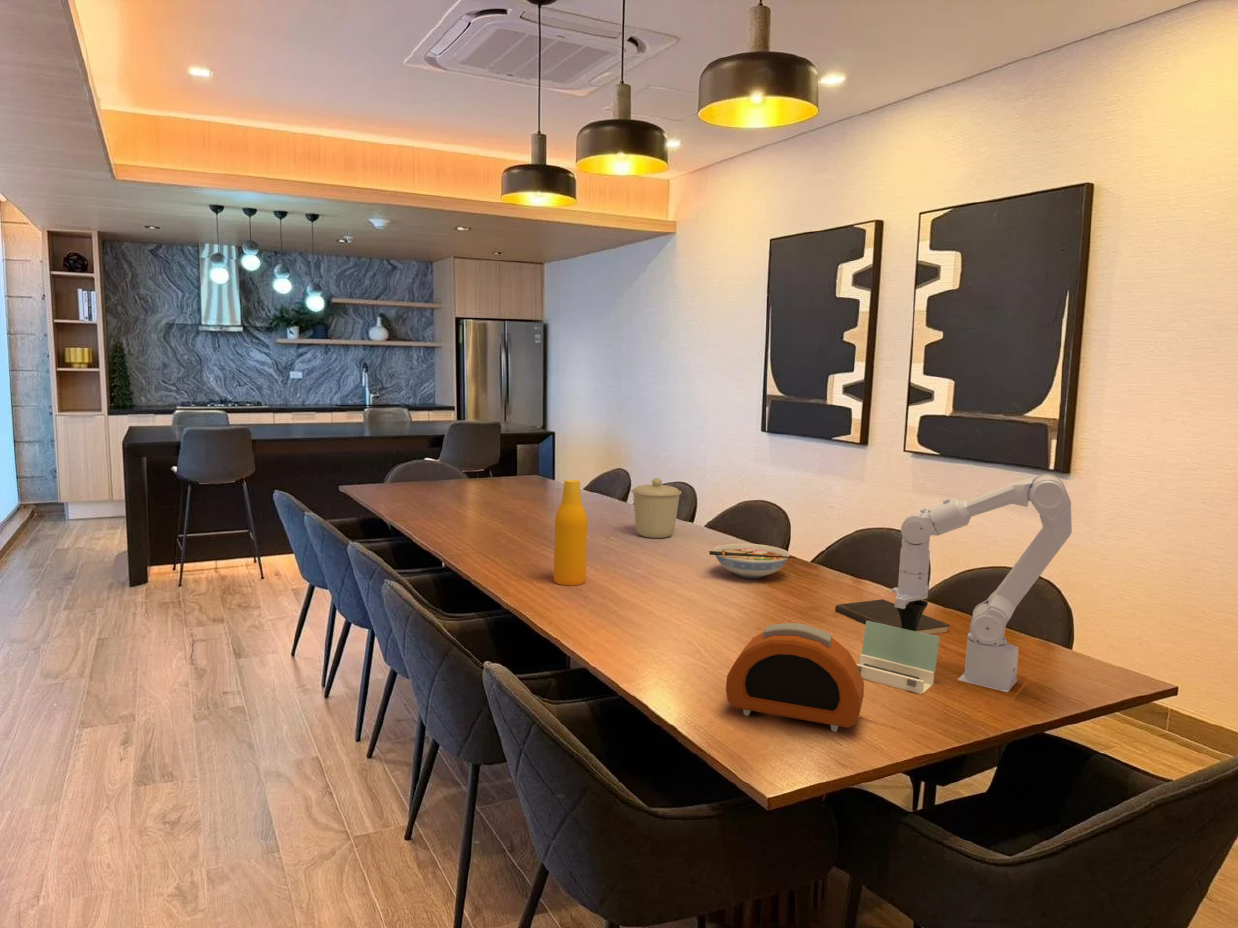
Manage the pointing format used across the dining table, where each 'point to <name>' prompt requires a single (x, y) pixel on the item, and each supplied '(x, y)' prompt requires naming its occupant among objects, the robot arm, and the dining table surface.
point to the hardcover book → (887, 615)
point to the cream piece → (895, 679)
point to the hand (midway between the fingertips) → (908, 634)
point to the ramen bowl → (750, 559)
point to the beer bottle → (570, 537)
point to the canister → (655, 509)
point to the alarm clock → (797, 677)
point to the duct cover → (901, 645)
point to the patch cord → (891, 671)
